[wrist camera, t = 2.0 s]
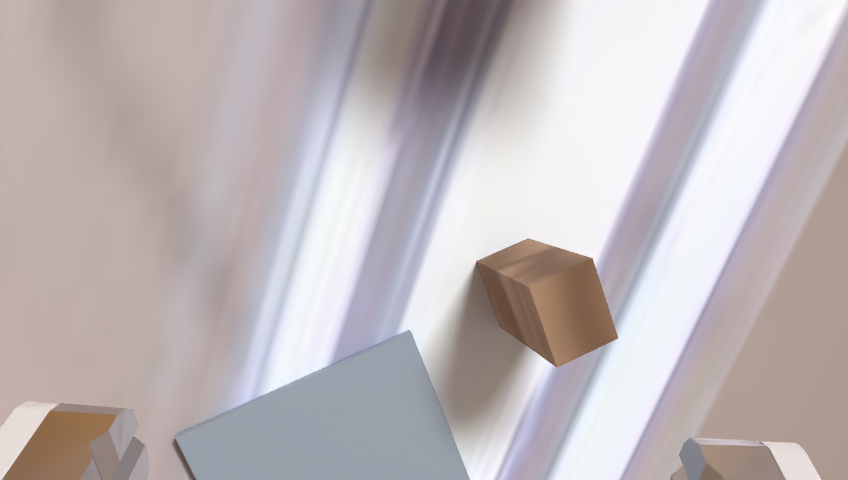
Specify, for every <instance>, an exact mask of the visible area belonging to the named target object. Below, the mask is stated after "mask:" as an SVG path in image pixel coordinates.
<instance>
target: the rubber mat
mask: <svg viewBox="0 0 848 480" xmlns="http://www.w3.org/2000/svg"><path fill="white" fill-rule="evenodd" d="M175 439H176V441H177V443H178V445H179V447H180V449H181V451H182V453H183V455H184V457H185V459H186V461H187V463H188V465H189V466H190V468H191V470H192V472H193V474H194V476H195V478H196V480H470V479H469V476H468V474H467V471H466V469H465V466H464V464H463V461H462V459H461V456H460V454H459V451H458V449H457V446H456V444H455V441H454V439H453V436H452V434H451V431H450V429H449V426H448V424H447V421H446V419H445V416H444V414H443V411H442V409H441V406H440V404H439V401H438V399H437V396H436V394H435V391H434V388H433V386H432V383H431V381H430V378H429V376H428V373H427V371H426V368H425V366H424V363H423V361H422V358H421V356H420V353H419V351H418V348H417V346H416V343H415V341H414V338H413V336H412V333H411V332H410V330H408V331H406V332H404V333H401V334H399V335H397V336H395V337H392V338H390V339H388V340H386V341H384V342H381V343H379V344H377V345H375V346H372V347H370V348H368V349H366V350H363V351H361V352H359V353H357V354H355V355H352V356H350V357H348V358H346V359H343V360H341V361H339V362H337V363H334V364H332V365H330V366H328V367H326V368H323V369H321V370H319V371H317V372H314V373H312V374H310V375H308V376H305V377H303V378H301V379H299V380H297V381H294V382H292V383H290V384H288V385H285V386H283V387H281V388H279V389H276V390H274V391H272V392H270V393H268V394H265V395H263V396H261V397H259V398H256V399H254V400H252V401H250V402H247V403H245V404H243V405H241V406H239V407H236V408H234V409H232V410H230V411H227V412H225V413H223V414H221V415H218V416H216V417H214V418H212V419H210V420H207V421H205V422H203V423H201V424H198V425H196V426H194V427H192V428H189V429H187V430H185V431H183V432H181V433H178V434H177V435H176V438H175Z"/></svg>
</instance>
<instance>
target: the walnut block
mask: <svg viewBox="0 0 848 480" xmlns="http://www.w3.org/2000/svg"><path fill="white" fill-rule="evenodd" d="M477 264H478V266H479V269H480V272H481V275H482V277H483V280H484V283H485V286H486V288H487V291H488V294H489V297H490V299H491V302H492V305H493V308H494V310H495V313H496V316H497V319H498V321H499V324H500V327H502V328H503V329H505V330H506V331H507V332H509V333H510V334H512V335H513V336H514V337H516V338H517V339H518V340H520V341H521V342H523V343H524V344H525V345H527V346H528V347H529V348H531V349H532V350H534V351H535V352H536V353H538V354H539V355H541V356H542V357H543V358H545V359H546V360H547V361H549V362H550V363H552V364H553V365H554V366H556V367H559V366H561V365H564V364H566V363H568V362H570V361H572V360H574V359H576V358H578V357H580V356H582V355H584V354H586V353H588V352H591V351H593V350H595V349H597V348H599V347H601V346H603V345H605V344H607V343H609V342H611V341H613V340H615V339H618V336H617V333H616V330H615V327H614V323H613V320H612V317H611V314H610V311H609V308H608V305H607V302H606V299H605V296H604V293H603V290H602V286H601V283H600V280H599V277H598V274H597V271H596V268H595V265H594V262H593V259H592V258H589V257H586V256H583V255H580V254H577V253H573V252H570V251H567V250H564V249H560V248H557V247H554V246H551V245H547V244H544V243H541V242H538V241H535V240H531V239H526V240H524V241H522V242H519V243H517V244H515V245H512V246H510V247H508V248H505V249H503V250H501V251H499V252H496V253H494V254H492V255H489V256H487V257H485V258H483V259H480V260H478V261H477Z"/></svg>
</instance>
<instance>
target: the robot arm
mask: <svg viewBox="0 0 848 480" xmlns="http://www.w3.org/2000/svg"><path fill="white" fill-rule="evenodd" d="M138 426H139V424H138V421H137V419H136V416H135V413H134V411H133V410H131V409H125V408H113V407H101V406H88V405H76V404H64V403H46V402H32V401H26V402H25V403H23V404H21V405H20V406H18V407H17V408H15V409H14V410H13V412H12V413H11V414H10V416H9V417H8V418H7V420H6V421H5V422H4V423H3V425H2V426H1V427H0V480H147V476H148V472H149V467H148V454H147V451H146V447H145V445H144V444H143V443H141V442H140V441H139V440H138V439H137V438H135V437H134V436H133V435H134V434H135V432H136V430H137V428H138ZM679 455H680V458H681V461H682V464H683V466H684V467H682V468H681V469H679V470H677V471H676V472H674V473H673V474H672V475H671V478H670V480H821V478H820V477H819V475H818V473H817V471H816V470H815V468H814V466H813V464H812V463H811V461H810V459H809V458H808V456H807V454H806V452H805V451H804V450H803V449H802V448H801V447H800V446H799V445H798V444H797V443H780V442H762V441H761V442H757V441H752V440H728V439H727V440H726V439H704V438H689V439H688V440H687V441H686V442H685V443H684V444H683V447H682V449H681V452H680V454H679Z"/></svg>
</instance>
